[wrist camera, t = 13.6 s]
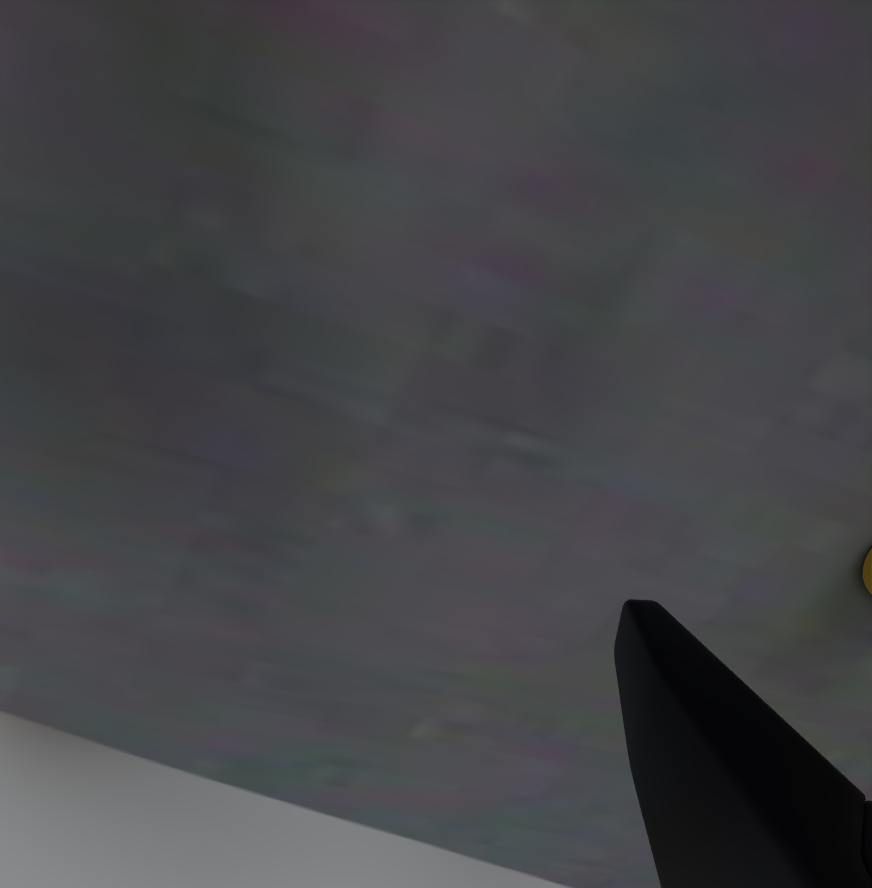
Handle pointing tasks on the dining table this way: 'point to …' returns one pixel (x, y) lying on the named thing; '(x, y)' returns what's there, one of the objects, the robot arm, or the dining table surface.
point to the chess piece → (868, 572)
